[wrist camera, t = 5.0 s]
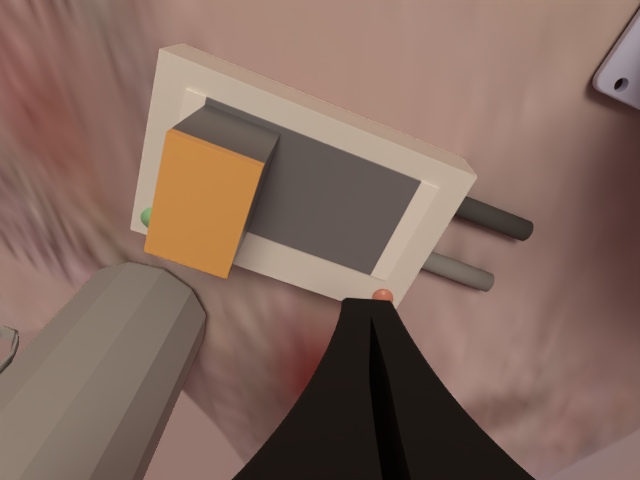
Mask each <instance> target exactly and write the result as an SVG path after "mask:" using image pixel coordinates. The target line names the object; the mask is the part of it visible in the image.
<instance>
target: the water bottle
mask: <svg viewBox="0 0 640 480" xmlns="http://www.w3.org/2000/svg"><path fill="white" fill-rule="evenodd" d="M205 321H206V314H205V312H204V310H203V309H202V307H201V305H200V303H199V301H198V300H197V298H196V296H195V294H194V292H193V291H192V289H191V288H190V287H189V286H187V285H186V284H185V283H183V282H182V281H181V280H179V279H178V278H177V277H176V276H174V275H173V274H172V273H170V272H169V271H168V270H166V269H164V268H159V267H155V266H150V265H146V264H141V263H137V262H127V263H123V264H119V265H115V266H111V267H107V268H103V269H99V270H98V271H97V272H96V273H95V274H94V275H93V276H92V277H91V278H90V280H89V281H88V282H87V283H86V284H85V285H84V286H83V287H82V288H81V289H80V290H79V291H78V292H77V293H76V294H75V296H74V297H73V298H72V299H71V300H70V301H69V302H68V303H67V304H66V305H65V306H64V307H63V308H62V309H61V310H60V311H59V313H58V314H57V315H56V316H55V317H54V318H53V319H52V320H51V321H50V322H49V323H48V324H47V325H46V326H45V327H44V329H43V330H42V331H41V332H40V333H39V334H38V335H37V336H36V337H35V338H34V339H33V340H32V341H31V342H30V343H29V345H28V346H27V347H26V348H25V349H24V350H23V351H22V352H21V353H20V354H19V355H18V356H17V357H16V358H15V359H14V360H13V358H14V356H15V354H16V351H17V349H18V345H19V336H18V330H15V329H12V328H9V327H6V326H3V325H0V338H4V339H8V340H12V341H13V342H12V346H11V351H10V353H9V354H8V355H7V356H6V358H4V359H3V360H2V361H1V362H0V480H143V478H144V476H145V473H146V471H147V469H148V466H149V464H150V462H151V459H152V457H153V455H154V452H155V450H156V448H157V445H158V443H159V441H160V438H161V436H162V433H163V431H164V429H165V427H166V424H167V422H168V420H169V417H170V415H171V413H172V410H173V408H174V406H175V403H176V401H177V399H178V396H179V394H180V392H181V389H182V387H183V385H184V383H185V380H186V378H187V376H188V373H189V371H190V369H191V366H192V364H193V362H194V359H195V357H196V355H197V352H198V350H199V348H200V345H201V343H202V341H203V337H204V329H205ZM12 360H13V362H12Z"/></svg>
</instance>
